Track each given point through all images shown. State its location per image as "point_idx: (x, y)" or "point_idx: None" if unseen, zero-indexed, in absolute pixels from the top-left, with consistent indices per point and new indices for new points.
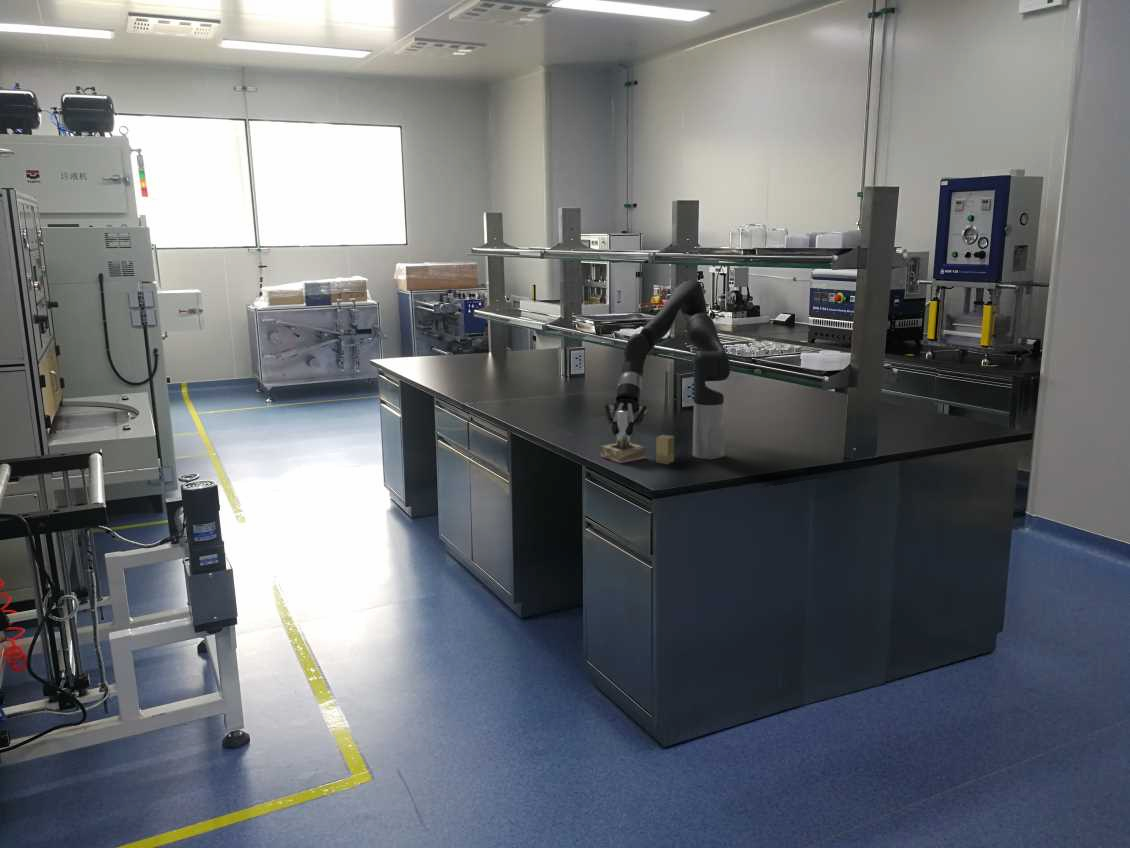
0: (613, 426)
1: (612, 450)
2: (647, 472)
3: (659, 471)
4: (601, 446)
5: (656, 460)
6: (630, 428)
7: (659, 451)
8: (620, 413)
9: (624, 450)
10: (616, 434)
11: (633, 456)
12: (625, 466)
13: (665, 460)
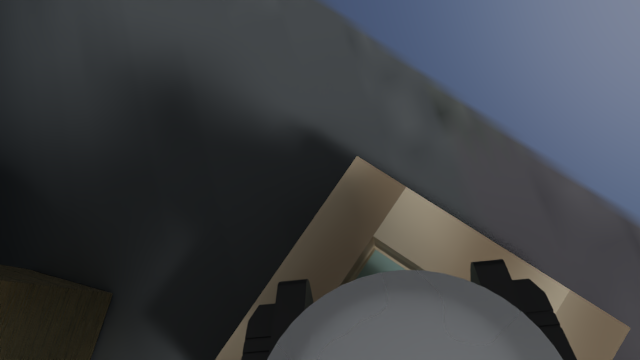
0: (545, 334)
1: (456, 221)
2: (133, 47)
3: (64, 94)
4: (617, 321)
5: (102, 292)
6: (273, 325)
7: (34, 280)
8: (432, 273)
9: (340, 224)
10: None
11: None
12: (306, 131)
13: (26, 270)
